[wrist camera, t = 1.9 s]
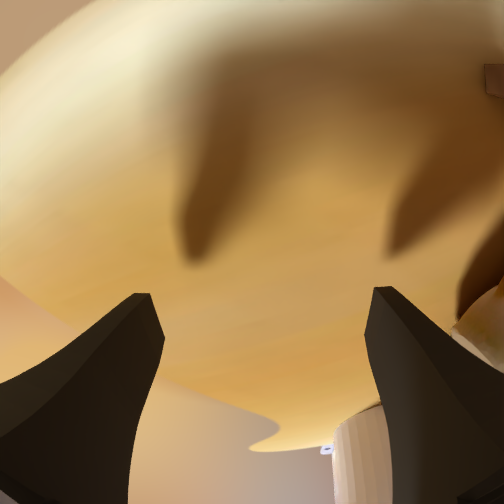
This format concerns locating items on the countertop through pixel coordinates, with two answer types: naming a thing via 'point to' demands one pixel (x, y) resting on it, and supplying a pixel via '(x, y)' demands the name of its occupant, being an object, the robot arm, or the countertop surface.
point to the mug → (484, 327)
